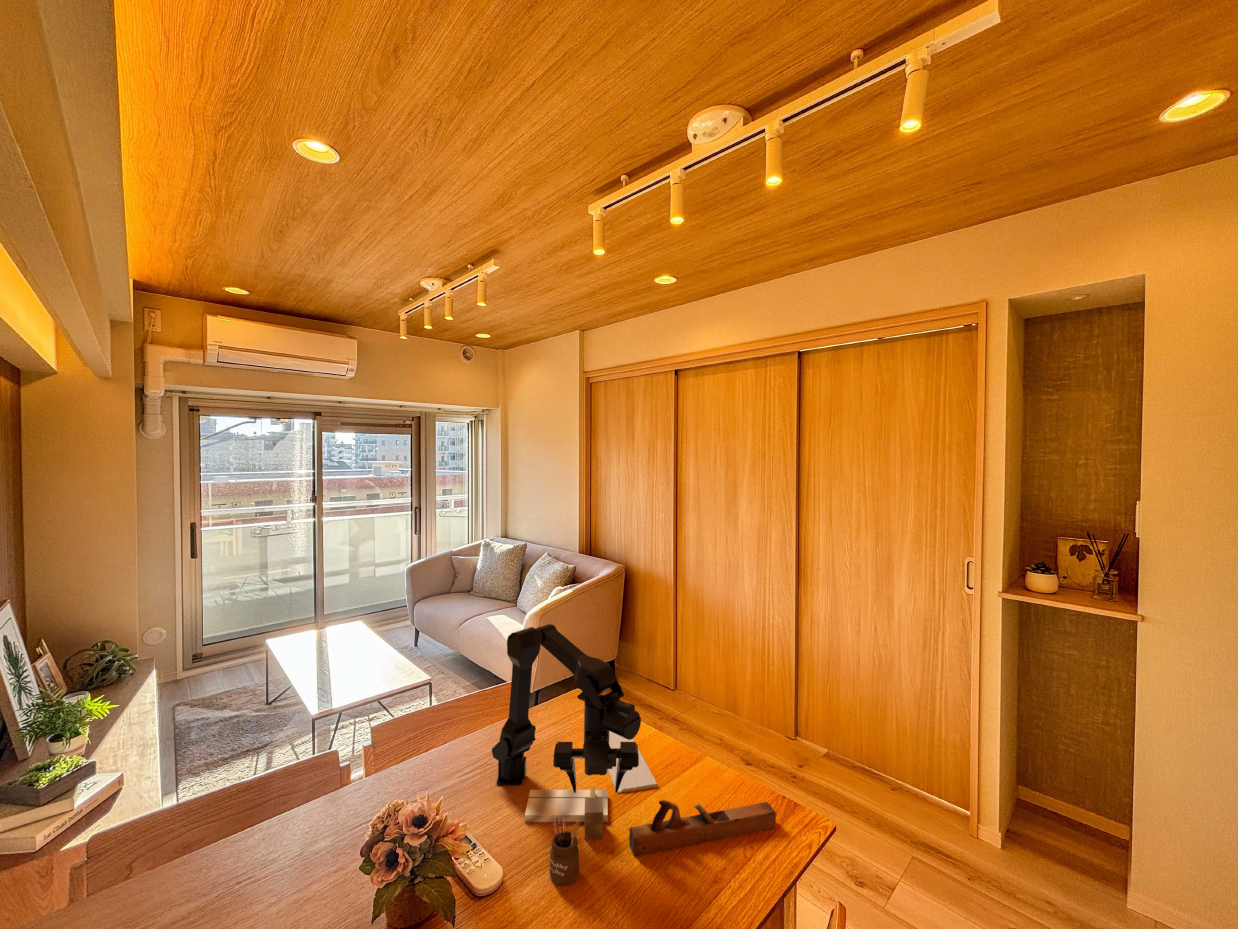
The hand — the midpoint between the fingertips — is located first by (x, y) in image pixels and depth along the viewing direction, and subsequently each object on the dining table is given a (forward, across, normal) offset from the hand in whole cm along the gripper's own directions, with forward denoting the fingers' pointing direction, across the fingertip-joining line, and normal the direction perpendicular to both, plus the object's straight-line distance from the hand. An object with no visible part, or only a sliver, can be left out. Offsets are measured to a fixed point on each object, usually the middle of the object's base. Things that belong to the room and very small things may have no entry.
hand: (595, 791), depth 117 cm
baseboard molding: (+10, +6, +29) cm, 32 cm away
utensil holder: (+9, -6, -12) cm, 16 cm away
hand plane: (+10, +24, -1) cm, 26 cm away
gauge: (+9, -1, +4) cm, 10 cm away
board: (+9, -7, +8) cm, 14 cm away
